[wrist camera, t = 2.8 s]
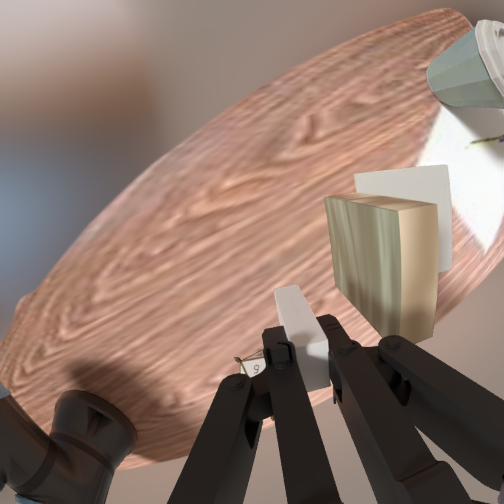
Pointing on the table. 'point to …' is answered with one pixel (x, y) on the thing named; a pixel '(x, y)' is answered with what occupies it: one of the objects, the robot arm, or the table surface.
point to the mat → (417, 196)
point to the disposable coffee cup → (471, 69)
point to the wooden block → (387, 260)
